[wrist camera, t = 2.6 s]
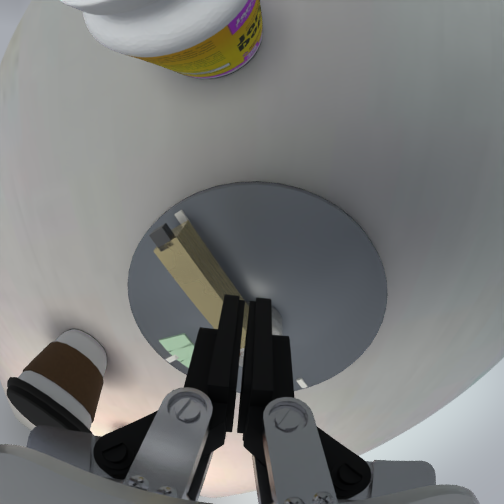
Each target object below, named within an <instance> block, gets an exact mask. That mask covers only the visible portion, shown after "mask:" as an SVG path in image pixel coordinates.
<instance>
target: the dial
mask: <svg viewBox="0 0 504 504" xmlns="http://www.w3.org/2000/svg"><path fill="white" fill-rule="evenodd" d="M187 220H189V221H190V223H191V224H192V226H193V227H194V228H195V230H196V231H197V233H198V234H199V236H200V237H201V239H202V240H203V242H204V243H205V245H206V246H207V248H208V249H209V251H210V252H211V253H212V255H213V256H214V258H215V259H216V261H217V262H218V264H219V265H220V266H221V268H222V269H223V271H224V272H225V274H226V275H227V276H228V278H229V279H230V281H231V282H232V284H233V285H234V286H235V288H236V289H237V291H238V292H239V293H240V295H241V296H242V298H243V299H244V300H245V302H250V301H256V297H257V298H268V299H271V305H272V307H273V308H275V309H276V310H277V311H278V312H279V314H280V316H281V318H282V335H283V336H289V338H290V347H291V360H292V372H293V385H294V391H296V390H300V389H304V388H308V387H311V386H313V385H316V384H319V383H321V382H323V381H325V380H328V379H330V378H332V377H333V376H335V375H337V374H338V373H340V372H342V371H343V370H344V369H346V368H347V367H348V366H350V365H351V364H352V363H353V362H355V361H356V360H357V359H358V358H359V357H360V356H361V355H362V354H363V353H364V351H365V350H366V349H367V348H368V347H369V345H370V344H371V342H372V341H373V339H374V338H375V336H376V334H377V333H378V330H379V328H380V326H381V324H382V321H383V318H384V314H385V310H386V304H387V280H386V276H385V272H384V268H383V265H382V262H381V260H380V258H379V255H378V253H377V251H376V249H375V248H374V246H373V245H372V243H371V242H370V240H369V239H368V237H367V235H366V234H365V232H364V231H363V230H362V229H361V228H360V226H359V225H358V224H357V223H356V222H355V221H354V220H353V219H352V218H351V217H350V216H349V215H347V214H346V213H345V212H344V211H342V210H341V209H340V208H339V207H337V206H336V205H334V204H332V203H331V202H329V201H327V200H326V199H324V198H322V197H320V196H318V195H316V194H313V193H311V192H308V191H306V190H303V189H300V188H296V187H292V186H288V185H284V184H280V183H270V182H259V181H256V182H236V183H230V184H225V185H220V186H215V187H212V188H209V189H206V190H203V191H200V192H197V193H195V194H193V195H192V196H190V197H188V198H186V199H184V200H182V201H180V202H179V203H177V204H176V205H174V206H173V207H172V208H170V209H169V210H168V211H166V212H165V213H164V214H163V215H162V216H161V217H160V218H159V219H158V220H157V221H156V222H155V223H154V224H153V225H152V226H151V228H150V229H149V230H148V231H147V233H146V234H145V235H144V237H143V238H142V240H141V241H140V243H139V244H138V247H137V249H136V251H135V253H134V255H133V258H132V261H131V265H130V269H129V276H128V297H129V302H130V306H131V310H132V313H133V316H134V318H135V321H136V323H137V325H138V327H139V329H140V331H141V333H142V334H143V336H144V337H145V338H146V340H147V341H148V343H149V344H150V345H151V346H152V347H153V349H154V350H155V351H156V352H157V353H158V354H159V355H160V356H161V357H162V358H163V359H165V360H166V361H167V362H168V363H169V364H171V365H172V366H173V367H175V368H176V369H178V370H179V371H181V372H182V373H184V374H186V375H187V373H188V369H189V365H190V361H191V357H192V353H193V350H194V346H195V342H196V338H197V334H198V331H199V328H200V327H203V328H211V329H214V328H213V326H212V325H211V324H210V323H209V322H208V320H207V319H206V318H205V317H204V316H203V314H202V313H201V312H200V311H199V310H198V308H197V307H196V306H195V305H194V303H193V302H192V301H191V300H190V298H189V297H188V296H187V295H186V293H185V292H184V291H183V290H182V288H181V287H180V286H179V284H178V283H177V282H176V281H175V279H174V278H173V277H172V275H171V274H170V273H169V271H168V270H167V269H166V267H165V266H164V265H163V263H162V262H161V261H160V259H159V258H158V257H157V255H156V254H155V253H154V251H153V250H154V249H155V248H156V244H155V243H154V242H153V240H152V239H151V237H150V236H149V235H150V234H151V233H152V231H153V230H155V229H156V228H158V227H160V226H161V225H163V224H164V223H167V225H168V226H169V228H170V229H171V230H172V229H174V228H175V227H177V226H179V225H181V224H182V223H184V222H186V221H187ZM242 368H243V367H241V366H239V369H238V380H237V390H236V392H238V393H240V392H241V380H242Z"/></svg>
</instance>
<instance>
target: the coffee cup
mask: <svg viewBox="0 0 504 504" xmlns="http://www.w3.org/2000/svg"><path fill="white" fill-rule="evenodd" d="M106 367H107V355H106V353H105V351H104V349H103V347H102V346H101V345H100V344H99V343H98V341H97V340H95V339H94V338H93V337H91V336H90V335H89V334H87V333H85V332H83V331H81V330H76V329H72V330H69V331H66V332H64V333H63V334H61V335H60V336H59V337H58V338H57V339H56V340H55V341H54V342H52V343H50V344H49V345H48V346H47V347H46V348H45V349H44V350H43V351H42V352H41V353H40V354H39V355H38V356H37V357H35V358H34V359H33V360H32V361H31V362H30V363H29V365H28V366H27V367H26V368H25V369H24V370H23V373H22V374H21V375H20V376H19V377H18V378H17V377H10V378H9V380H8V382H7V387H8V389H7V396H8V398H9V400H10V401H11V403H12V404H13V405H14V406H15V407H16V409H17V410H18V411H19V412H20V413H21V414H22V415H23V416H24V417H26V418H27V419H28V420H29V421H30V422H31V423H33V424H34V425H35V426H39V425H46V426H51V427H56V428H61V429H67V430H72V431H79V432H85V433H92V432H91V431H90V427H91V423H92V422H93V421H94V417H95V413H96V409H97V405H98V401H99V397H100V393H101V390H102V386H103V377H104V374H105V370H106Z"/></svg>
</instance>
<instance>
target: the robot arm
mask: <svg viewBox="0 0 504 504" xmlns="http://www.w3.org/2000/svg"><path fill="white" fill-rule="evenodd" d="M239 299H240V296H237V295H228V294H225V295H224V300H223V305H222V310H221V315H220V320H219V325H218V329H211V328H203V327H200V328H199V331H198V334H197V338H196V342H195V346H194V350H193V353H192V357H191V361H190V365H189V369H188V373H187V377H186V381H185V385H184V388H178V389H176V390H173V391H171V392H170V393H169V394H167V396H166V397H165V398H164V400H163V402H162V404H161V406H160V408H159V410H158V411H156V412H154V413H152V414H150V415H148V416H146V417H144V418H141V419H139V420H137V421H135V422H133V423H131V424H128V425H126V426H124V427H122V428H119V429H117V430H115V431H113V432H110V433H108V434H106V435H104V436H102V437H101V436H94V435H93V434H92V433H85V432H79V431H72V430H67V429H61V428H56V427H51V426H46V425H39V426H37V427H35V428H34V429H33V430H32V431H31V432H30V435H29V437H28V442H27V447H22V446H17V445H8V444H4V445H3V444H1V445H0V504H211V503H204V502H197V500H198V498H199V495H200V492H201V489H202V486H203V483H204V480H205V477H206V474H207V471H208V468H209V465H210V461H211V458H212V455H213V451H214V450H216V449H217V448H219V447H221V446H222V445H224V440H225V436H226V432H232V428H233V419H234V409H235V399H236V390H237V380H238V369H239V359H240V349H241V338H242V328H243V317H244V307H245V300H239ZM237 433H243V441H244V447H245V448H246V449H247V450H248V451H249V452H250V453H251V454H252V460H253V467H254V475H255V482H256V489H257V495H258V502H259V504H479V502H478V500H477V498H476V496H475V495H474V493H472V492H471V491H470V490H469V489H467V488H464V487H461V486H457V485H436V476H435V470H434V468H433V467H432V465H431V464H429V463H428V462H425V461H386V460H374V461H373V462H368V461H364V460H363V459H362V458H360V457H359V456H358V455H356V454H355V453H353V452H352V451H350V450H349V449H347V448H346V447H345V446H343V445H342V444H340V443H339V442H337V441H336V440H335V439H333V438H332V437H331V436H329V435H328V434H326V433H325V432H324V431H322V430H321V429H320V428H318V427H317V426H316V423H315V419H314V416H313V413H312V411H311V409H310V408H309V407H308V405H307V404H306V403H304V402H302V401H301V400H299V399H296V398H294V385H293V372H292V360H291V347H290V338H289V336H283V335H272V305H271V299H268V298H257V297H256V301H250V304H249V313H248V322H247V330H246V339H245V347H244V357H243V368H242V380H241V392H240V404H239V416H238V428H237Z"/></svg>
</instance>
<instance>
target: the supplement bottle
mask: <svg viewBox="0 0 504 504" xmlns="http://www.w3.org/2000/svg"><path fill="white" fill-rule="evenodd" d="M60 1H61V2H63V3H64V4H66V5H69V6H71V7H74V8H76V9H78V10H81V11H83V16H84V20H85V23H86V26H87V28H88V30H89V31H90V33H91V34H92V36H93V37H94V38H95V39H96V40H97V41H98V42H100V43H101V44H102V45H104V46H105V47H107V48H109V49H111V50H113V51H116V52H119V53H121V54H125V55H128V56H131V57H135V58H138V59H141V60H144V61H147V62H150V63H153V64H156V65H159V66H162V67H164V68H167V69H170V70H173V71H175V72H177V73H180V74H183V75H186V76H189V77H193V78H200V79H208V78H216V77H221V76H224V75H227V74H230V73H232V72H234V71H236V70H238V69H239V68H241V67H242V66H244V65H245V64H246V63H247V62H248V61H249V60H250V59H251V58H252V57H253V56H254V54H255V53H256V51H257V50H258V48H259V45H260V43H261V40H262V33H263V25H262V15H261V6H260V0H60Z"/></svg>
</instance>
